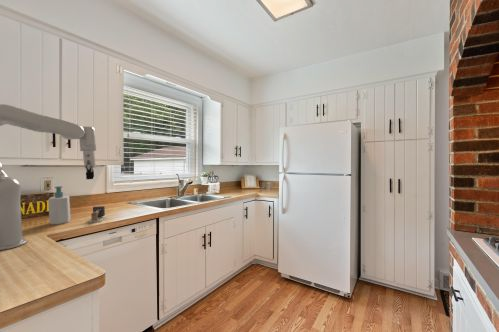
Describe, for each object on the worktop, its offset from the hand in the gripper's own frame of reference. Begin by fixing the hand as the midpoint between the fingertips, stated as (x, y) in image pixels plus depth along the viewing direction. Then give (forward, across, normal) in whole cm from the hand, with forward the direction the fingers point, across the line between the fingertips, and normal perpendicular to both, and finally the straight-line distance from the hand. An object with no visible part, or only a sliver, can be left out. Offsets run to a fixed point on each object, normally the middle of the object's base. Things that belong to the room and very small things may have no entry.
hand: (90, 178), depth 137 cm
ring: (+26, +14, -2) cm, 30 cm away
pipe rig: (+28, +12, -2) cm, 30 cm away
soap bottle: (+28, +18, +18) cm, 38 cm away
